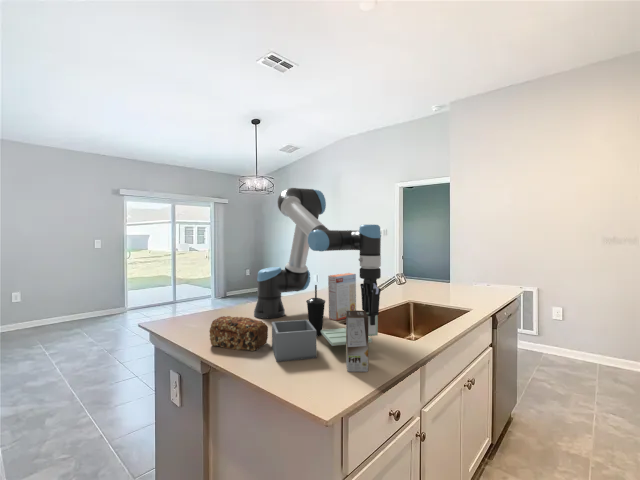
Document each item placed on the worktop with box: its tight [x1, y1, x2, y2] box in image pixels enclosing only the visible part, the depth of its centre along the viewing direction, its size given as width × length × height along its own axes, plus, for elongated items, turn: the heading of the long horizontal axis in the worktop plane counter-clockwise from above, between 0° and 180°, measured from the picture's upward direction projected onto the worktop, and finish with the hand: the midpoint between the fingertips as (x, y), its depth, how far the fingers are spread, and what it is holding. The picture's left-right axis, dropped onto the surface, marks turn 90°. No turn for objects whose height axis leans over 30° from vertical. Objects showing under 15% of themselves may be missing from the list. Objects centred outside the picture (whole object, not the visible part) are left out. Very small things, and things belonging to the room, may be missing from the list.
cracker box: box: [327, 272, 357, 321], centre depth 158 cm, size 14×6×21 cm, turn 133°
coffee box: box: [345, 309, 369, 373], centre depth 100 cm, size 9×6×16 cm
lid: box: [321, 312, 379, 347], centre depth 116 cm, size 15×19×8 cm
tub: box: [271, 319, 317, 363], centre depth 111 cm, size 14×13×9 cm
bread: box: [209, 315, 269, 352], centre depth 119 cm, size 19×11×10 cm, turn 72°
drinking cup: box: [306, 284, 326, 338], centre depth 131 cm, size 8×8×20 cm
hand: (370, 332), depth 118 cm, fingers closed on lid, 2 cm apart
